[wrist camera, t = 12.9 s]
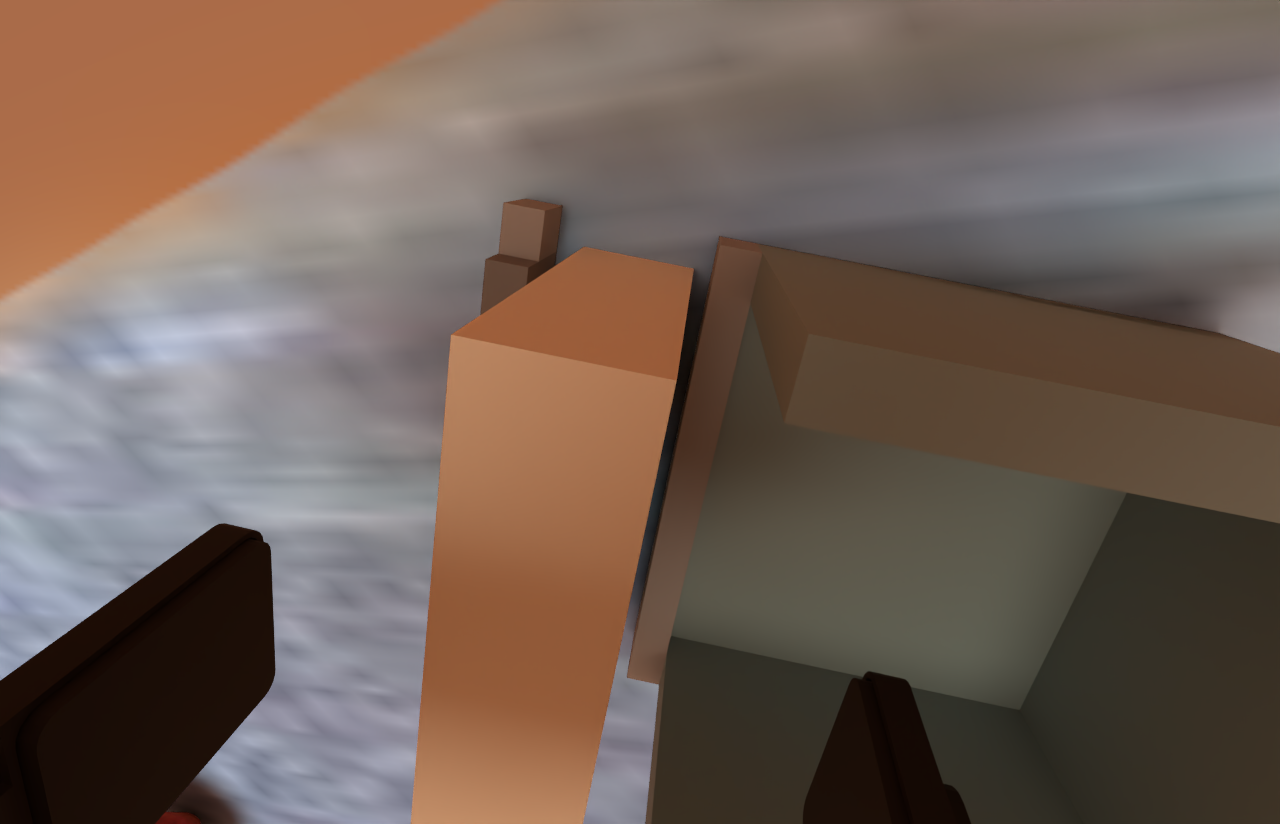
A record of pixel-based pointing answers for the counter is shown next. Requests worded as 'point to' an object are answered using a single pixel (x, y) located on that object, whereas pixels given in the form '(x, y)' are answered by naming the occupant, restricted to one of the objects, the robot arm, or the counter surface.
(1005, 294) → the cabinet
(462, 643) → the door
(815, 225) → the counter surface
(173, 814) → the onion
